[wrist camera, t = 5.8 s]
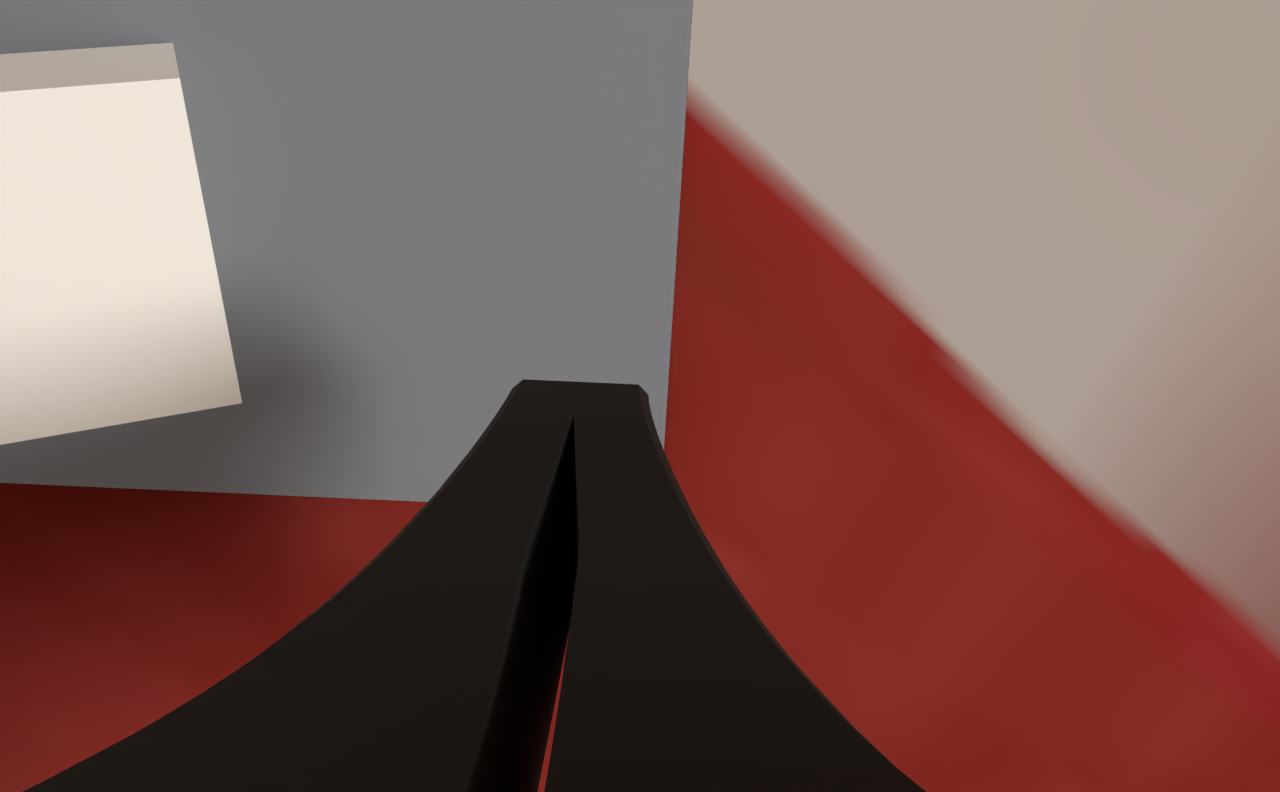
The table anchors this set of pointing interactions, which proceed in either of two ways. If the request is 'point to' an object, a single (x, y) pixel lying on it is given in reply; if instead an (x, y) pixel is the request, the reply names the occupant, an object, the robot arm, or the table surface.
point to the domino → (103, 247)
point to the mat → (399, 226)
